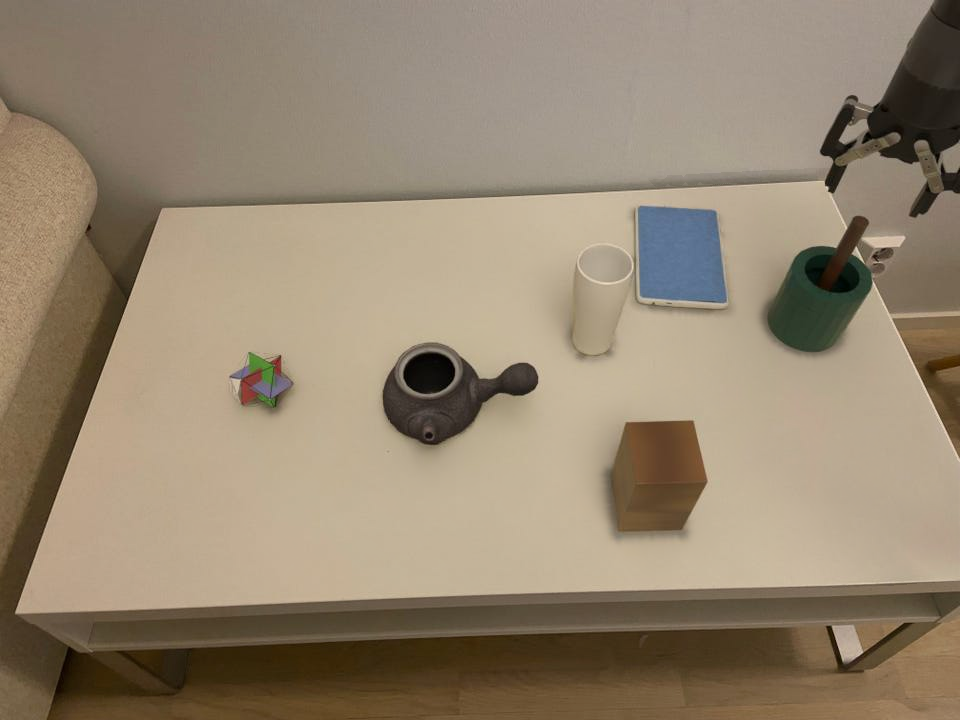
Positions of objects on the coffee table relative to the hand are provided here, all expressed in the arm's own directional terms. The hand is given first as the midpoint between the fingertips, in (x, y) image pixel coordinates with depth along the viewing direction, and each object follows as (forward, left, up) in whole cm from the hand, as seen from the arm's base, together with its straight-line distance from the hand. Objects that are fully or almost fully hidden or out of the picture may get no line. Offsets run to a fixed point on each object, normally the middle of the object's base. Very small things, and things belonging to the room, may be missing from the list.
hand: (872, 200), depth 77 cm
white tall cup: (+24, +16, -22) cm, 36 cm away
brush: (0, 0, -21) cm, 21 cm away
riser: (+9, +34, -22) cm, 42 cm away
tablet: (+19, -4, -22) cm, 29 cm away
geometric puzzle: (+57, +43, -22) cm, 75 cm away
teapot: (+34, +34, -22) cm, 53 cm away
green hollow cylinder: (0, 0, -22) cm, 22 cm away
